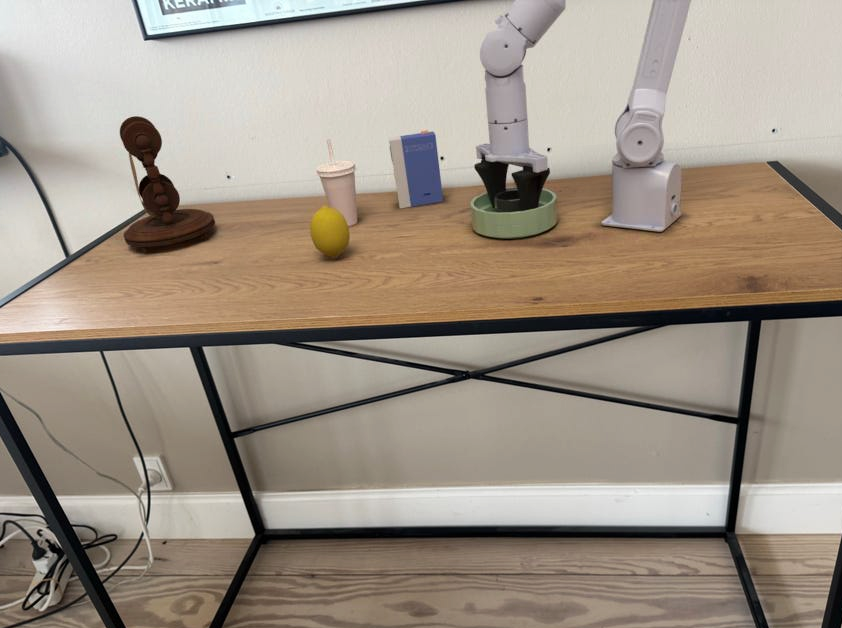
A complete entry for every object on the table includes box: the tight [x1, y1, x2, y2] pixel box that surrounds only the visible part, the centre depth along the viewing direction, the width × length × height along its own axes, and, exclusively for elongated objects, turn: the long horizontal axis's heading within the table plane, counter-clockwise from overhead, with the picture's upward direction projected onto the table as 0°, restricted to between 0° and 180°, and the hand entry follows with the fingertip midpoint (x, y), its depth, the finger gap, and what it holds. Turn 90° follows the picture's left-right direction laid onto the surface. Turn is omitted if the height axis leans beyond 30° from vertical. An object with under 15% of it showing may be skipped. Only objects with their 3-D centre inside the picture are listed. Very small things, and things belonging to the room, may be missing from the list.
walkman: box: [388, 129, 444, 209], centre depth 120 cm, size 8×3×12 cm, turn 99°
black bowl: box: [494, 190, 521, 212], centre depth 106 cm, size 6×6×4 cm
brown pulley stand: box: [119, 115, 216, 255], centre depth 115 cm, size 15×15×20 cm
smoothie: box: [315, 138, 358, 227], centre depth 114 cm, size 6×6×14 cm
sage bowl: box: [470, 186, 558, 240], centre depth 107 cm, size 13×13×4 cm
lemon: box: [309, 205, 350, 259], centre depth 101 cm, size 6×6×8 cm
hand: (513, 211), depth 107 cm, fingers open, 7 cm apart
